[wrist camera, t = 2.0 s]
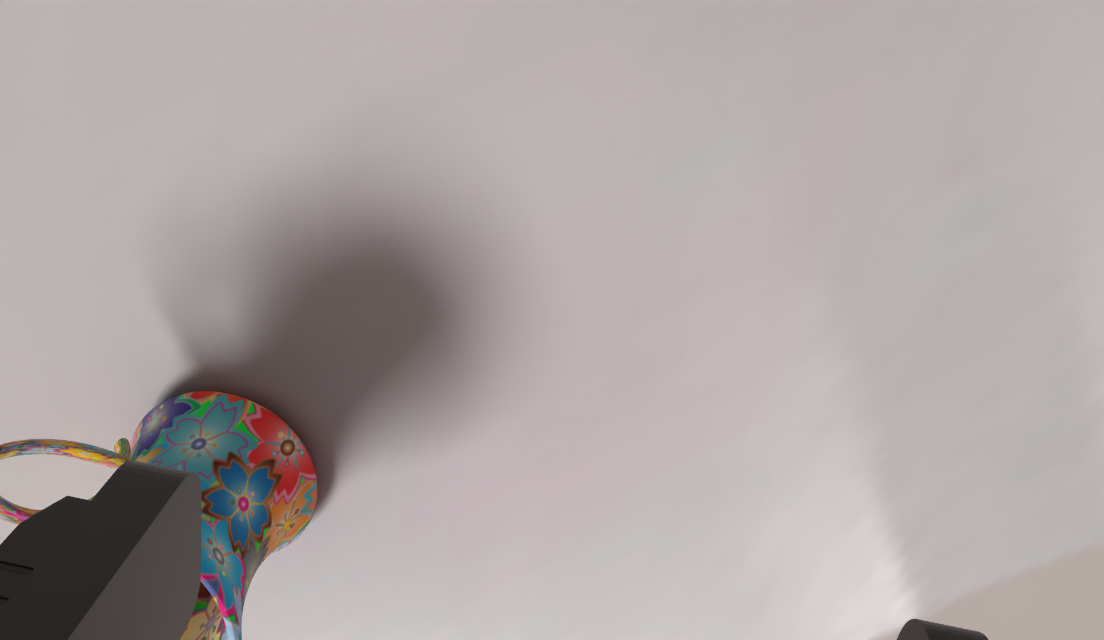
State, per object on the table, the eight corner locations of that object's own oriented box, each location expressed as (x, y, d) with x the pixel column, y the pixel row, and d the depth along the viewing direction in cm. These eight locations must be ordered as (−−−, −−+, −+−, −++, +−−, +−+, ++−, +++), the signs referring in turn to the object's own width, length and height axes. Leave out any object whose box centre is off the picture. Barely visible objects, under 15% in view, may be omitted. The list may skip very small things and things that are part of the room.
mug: (374, 466, 43) (289, 633, 33) (258, 583, 46) (151, 766, 37) (150, 290, 41) (-11, 415, 31) (45, 427, 44) (-129, 578, 34)
